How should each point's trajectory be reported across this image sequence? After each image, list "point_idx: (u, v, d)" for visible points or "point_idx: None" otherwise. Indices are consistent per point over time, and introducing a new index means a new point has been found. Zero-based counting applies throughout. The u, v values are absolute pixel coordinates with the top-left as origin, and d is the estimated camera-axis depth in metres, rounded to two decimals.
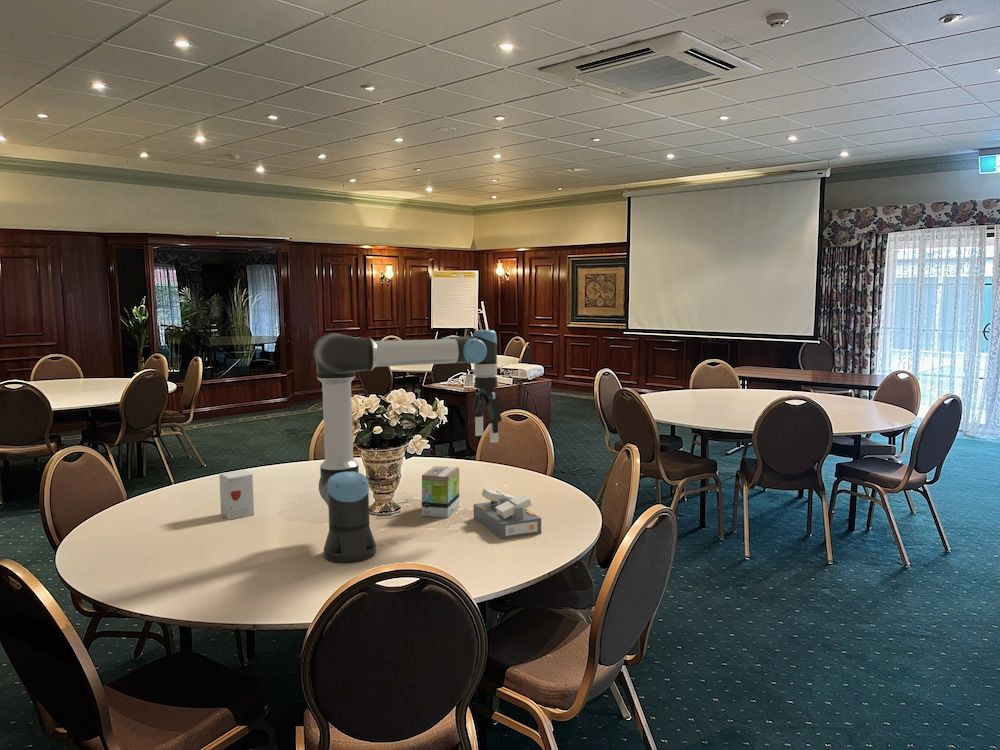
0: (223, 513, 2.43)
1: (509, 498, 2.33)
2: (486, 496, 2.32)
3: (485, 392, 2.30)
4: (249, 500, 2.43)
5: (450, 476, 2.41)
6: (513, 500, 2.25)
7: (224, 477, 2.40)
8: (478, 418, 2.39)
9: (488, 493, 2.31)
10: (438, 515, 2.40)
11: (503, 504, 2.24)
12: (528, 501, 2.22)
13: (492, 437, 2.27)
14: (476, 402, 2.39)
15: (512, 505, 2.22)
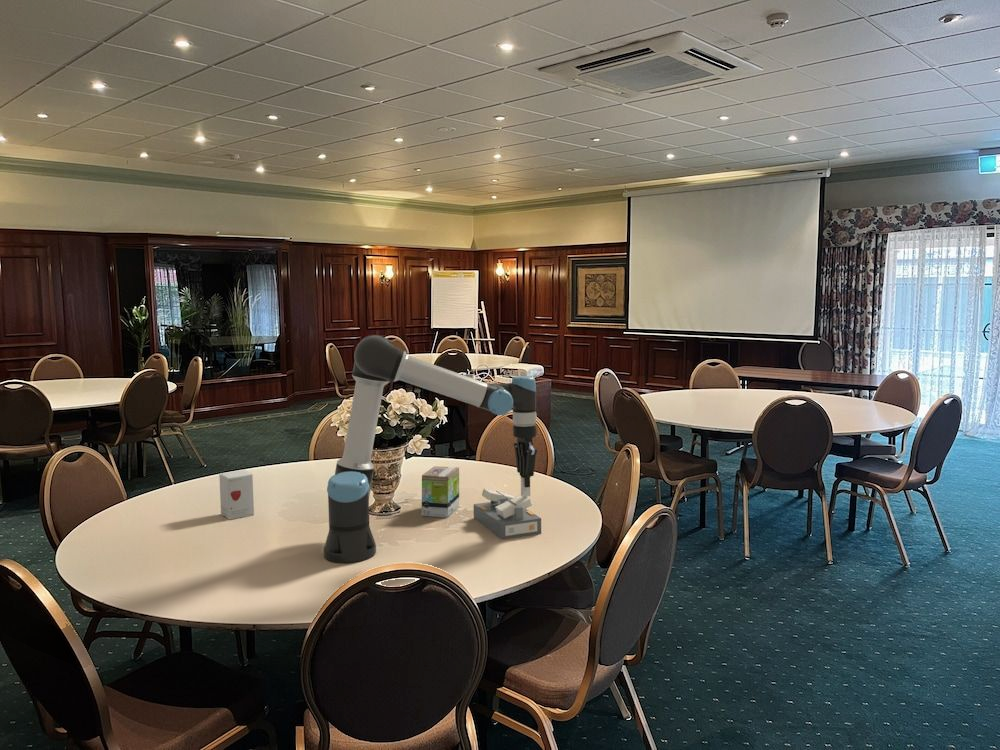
0: (223, 513, 2.43)
1: (509, 498, 2.33)
2: (486, 496, 2.32)
3: (525, 440, 2.20)
4: (249, 500, 2.43)
5: (450, 476, 2.41)
6: (513, 500, 2.25)
7: (224, 477, 2.40)
8: None
9: (488, 493, 2.31)
10: (438, 515, 2.40)
11: (503, 504, 2.24)
12: (528, 501, 2.22)
13: (524, 491, 2.24)
14: (518, 457, 2.27)
15: (512, 505, 2.22)
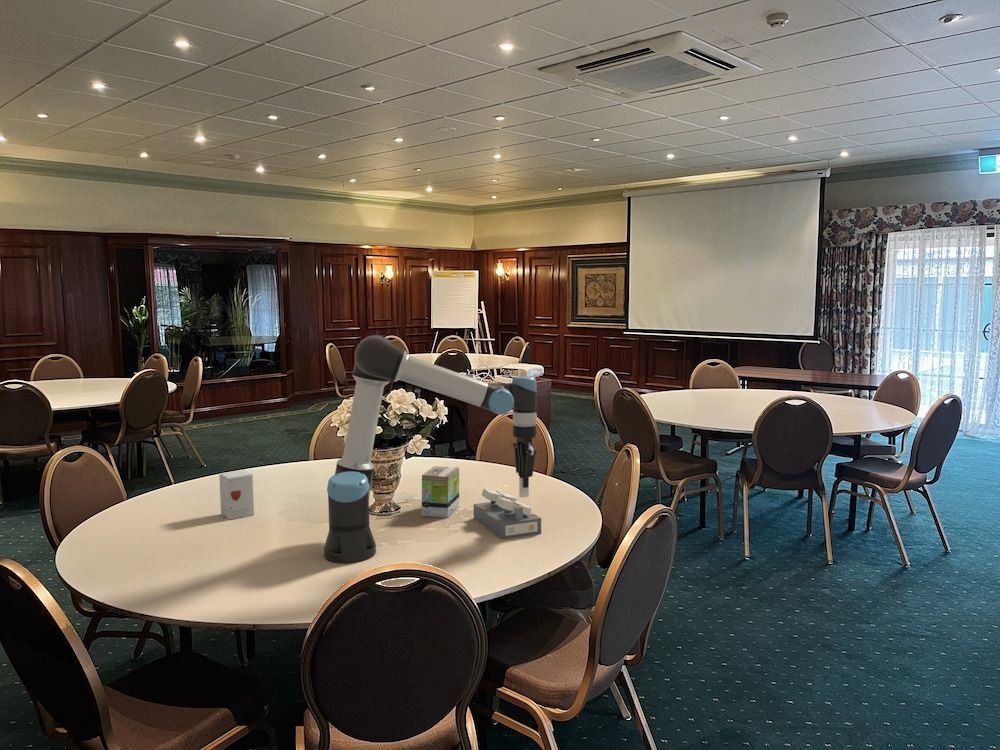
0: (223, 513, 2.43)
1: (509, 498, 2.33)
2: (486, 496, 2.32)
3: (525, 441, 2.20)
4: (249, 500, 2.43)
5: (450, 476, 2.41)
6: (515, 502, 2.26)
7: (224, 477, 2.40)
8: None
9: (488, 493, 2.31)
10: (438, 515, 2.40)
11: (505, 499, 2.25)
12: (529, 510, 2.23)
13: (522, 491, 2.24)
14: (517, 457, 2.27)
15: (514, 503, 2.22)
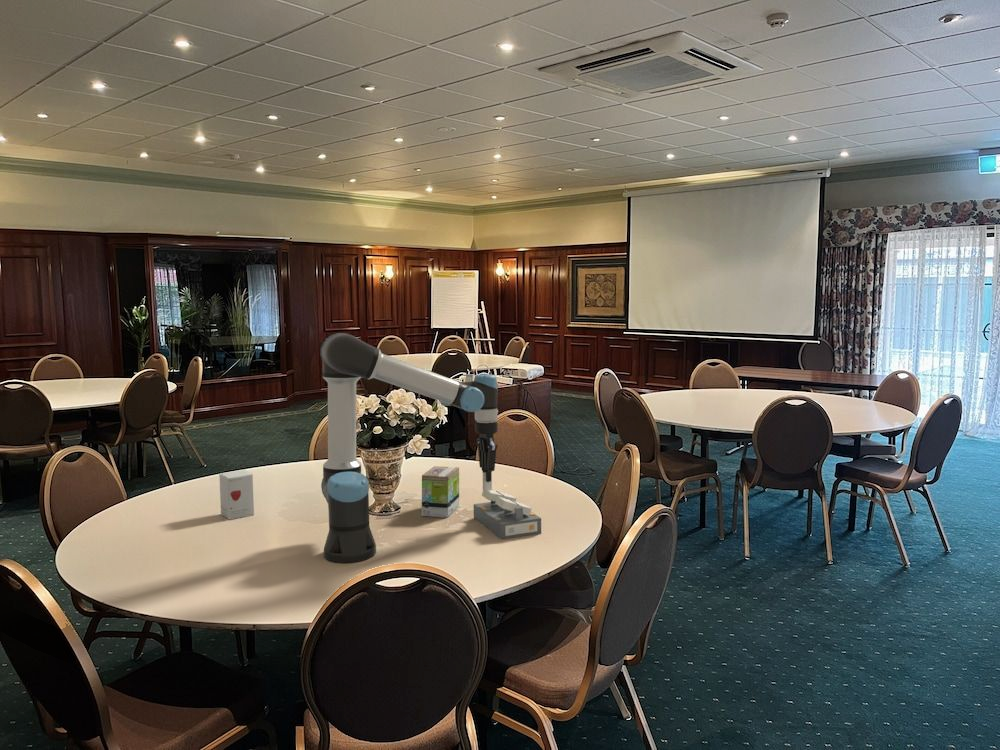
0: (223, 513, 2.43)
1: (509, 498, 2.33)
2: (486, 496, 2.32)
3: (486, 436, 2.28)
4: (249, 500, 2.43)
5: (450, 476, 2.41)
6: (515, 502, 2.26)
7: (224, 477, 2.40)
8: None
9: (488, 493, 2.31)
10: (438, 515, 2.40)
11: (505, 499, 2.25)
12: (529, 510, 2.23)
13: (485, 485, 2.32)
14: (480, 452, 2.35)
15: (514, 503, 2.22)
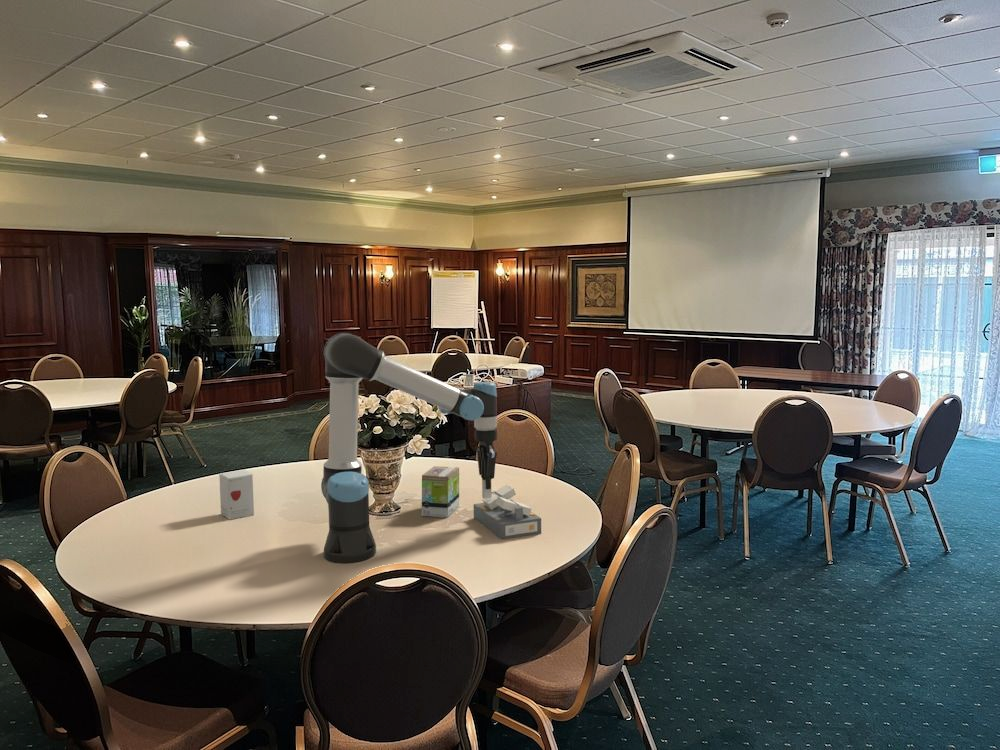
0: (223, 513, 2.43)
1: (507, 493, 2.33)
2: (488, 506, 2.33)
3: (486, 444, 2.28)
4: (249, 500, 2.43)
5: (450, 476, 2.41)
6: (515, 502, 2.26)
7: (224, 477, 2.40)
8: None
9: (487, 504, 2.31)
10: (438, 515, 2.40)
11: (505, 499, 2.25)
12: (529, 510, 2.23)
13: (485, 493, 2.32)
14: (480, 459, 2.35)
15: (514, 503, 2.22)
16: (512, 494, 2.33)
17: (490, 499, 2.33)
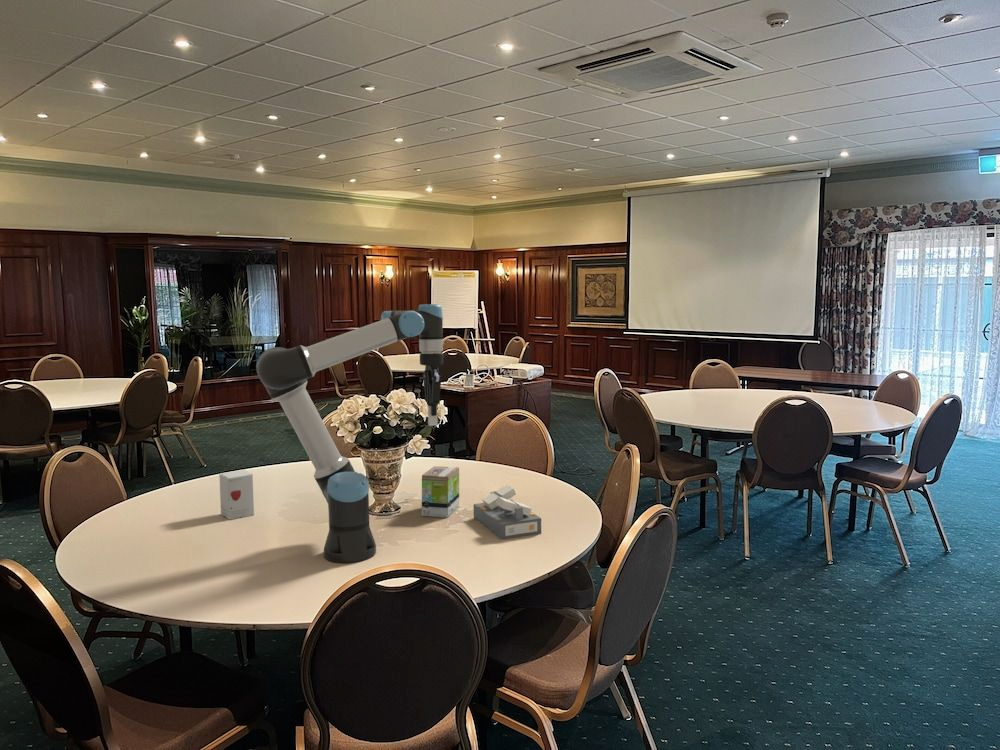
0: (223, 513, 2.43)
1: (507, 493, 2.33)
2: (488, 506, 2.33)
3: (431, 368, 2.20)
4: (249, 500, 2.43)
5: (450, 476, 2.41)
6: (515, 502, 2.26)
7: (224, 477, 2.40)
8: None
9: (487, 504, 2.31)
10: (438, 515, 2.40)
11: (505, 499, 2.25)
12: (529, 510, 2.23)
13: (431, 419, 2.23)
14: (426, 386, 2.26)
15: (514, 503, 2.22)
16: (512, 494, 2.33)
17: (490, 499, 2.33)
